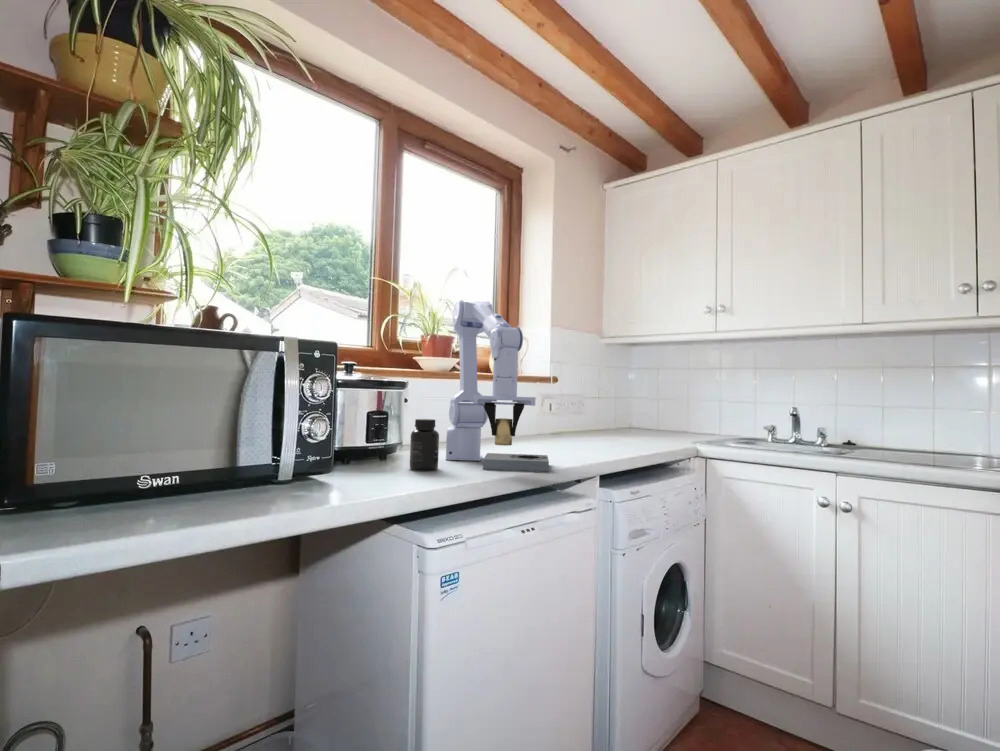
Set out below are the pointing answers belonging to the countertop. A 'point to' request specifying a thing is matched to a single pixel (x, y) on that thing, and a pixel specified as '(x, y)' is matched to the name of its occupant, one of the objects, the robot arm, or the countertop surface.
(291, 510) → the countertop surface
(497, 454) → the jig
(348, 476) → the countertop surface
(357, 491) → the countertop surface
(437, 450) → the supplement bottle
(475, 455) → the robot arm
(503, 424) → the bushing
